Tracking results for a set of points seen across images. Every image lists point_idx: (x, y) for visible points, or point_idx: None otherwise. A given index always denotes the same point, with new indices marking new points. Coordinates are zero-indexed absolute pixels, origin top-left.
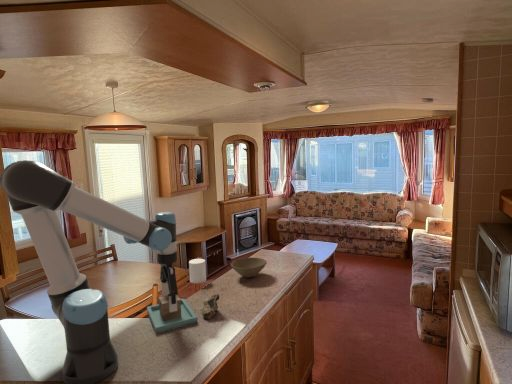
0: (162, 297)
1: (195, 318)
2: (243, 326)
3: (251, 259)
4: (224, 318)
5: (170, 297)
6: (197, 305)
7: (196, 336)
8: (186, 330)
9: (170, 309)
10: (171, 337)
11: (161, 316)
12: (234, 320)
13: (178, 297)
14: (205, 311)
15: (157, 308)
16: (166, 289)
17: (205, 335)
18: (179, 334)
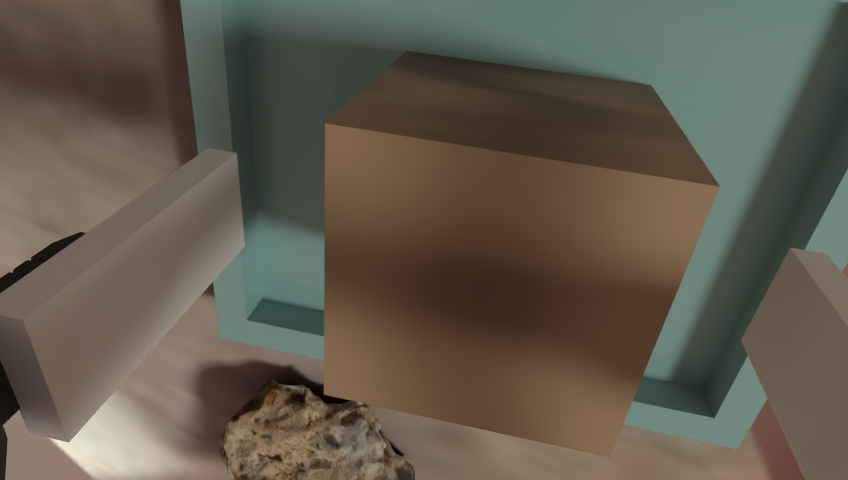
0: (633, 242)
1: (222, 319)
2: (74, 459)
3: None
4: (218, 451)
5: (24, 299)
6: (561, 449)
7: (30, 199)
8: (153, 179)
9: (184, 173)
10: (72, 7)
11: (522, 70)
12: (164, 470)
13: (423, 412)
14: (267, 428)
15: (844, 118)
16: (824, 439)
17: (27, 255)
18: (104, 97)
